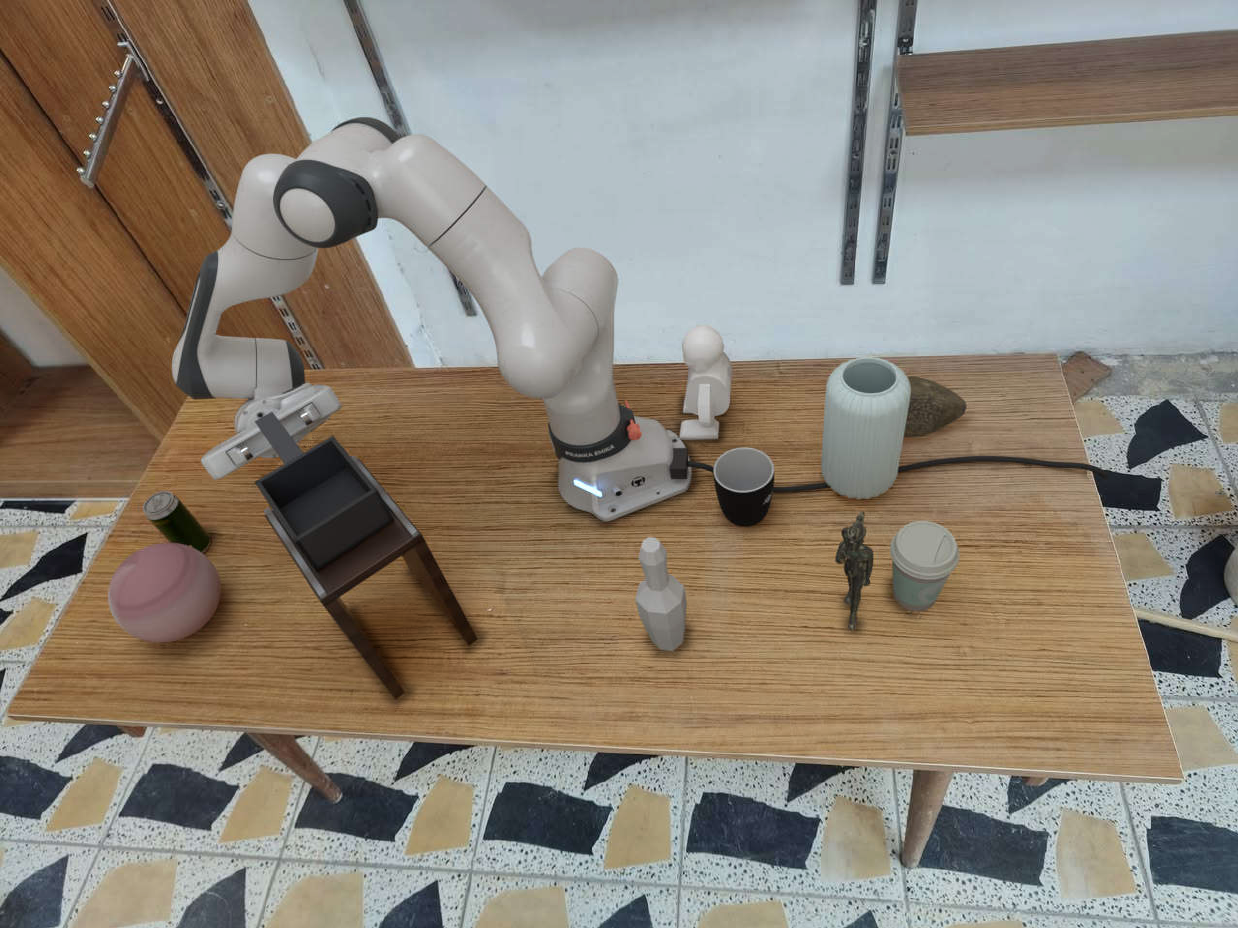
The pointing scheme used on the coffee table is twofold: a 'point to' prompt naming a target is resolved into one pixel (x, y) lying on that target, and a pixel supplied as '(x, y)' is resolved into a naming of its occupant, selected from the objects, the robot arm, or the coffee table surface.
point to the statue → (855, 564)
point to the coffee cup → (922, 563)
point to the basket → (320, 496)
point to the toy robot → (705, 382)
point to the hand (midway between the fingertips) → (277, 436)
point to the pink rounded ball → (164, 592)
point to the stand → (367, 562)
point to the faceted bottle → (660, 598)
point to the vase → (864, 426)
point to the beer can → (176, 521)
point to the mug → (744, 485)
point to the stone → (931, 407)
